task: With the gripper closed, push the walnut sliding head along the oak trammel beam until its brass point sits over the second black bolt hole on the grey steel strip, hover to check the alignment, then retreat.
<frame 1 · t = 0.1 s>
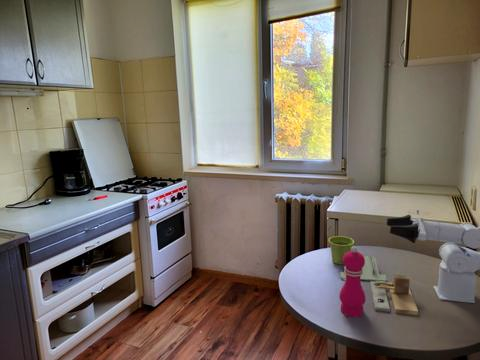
hand: (388, 225, 110), 22 cm above the table, tool horizontal, fingers open, 7 cm apart
metal bracket: (360, 273, 125), on the table, touching plant pot
pepper mill: (351, 311, 102), on the table
plant pot: (340, 262, 135), on the table, touching metal bracket
sliding head: (392, 283, 109), point 4 cm above the table, slide at 0.0 cm
bolt strip: (379, 296, 109), on the table
trammel beam: (401, 299, 107), on the table
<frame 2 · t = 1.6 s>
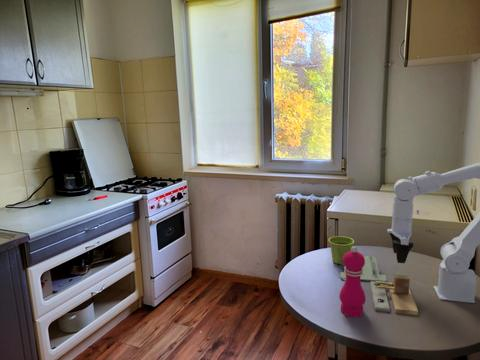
hand: (399, 257, 112), 10 cm above the table, tool pointing down, fingers open, 7 cm apart
nothing on the table moved.
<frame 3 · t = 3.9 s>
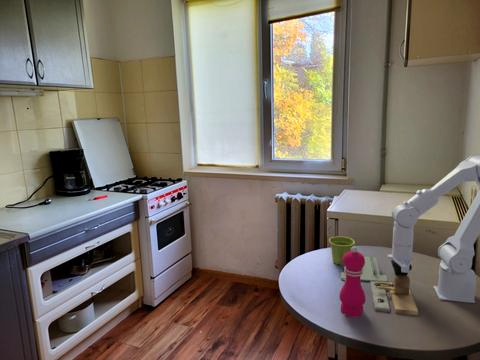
hand: (399, 283, 111), 3 cm above the table, tool pointing down, fingers closed
sliding head: (392, 283, 109), point 4 cm above the table, slide at 0.3 cm, touching gripper
everything else where it was.
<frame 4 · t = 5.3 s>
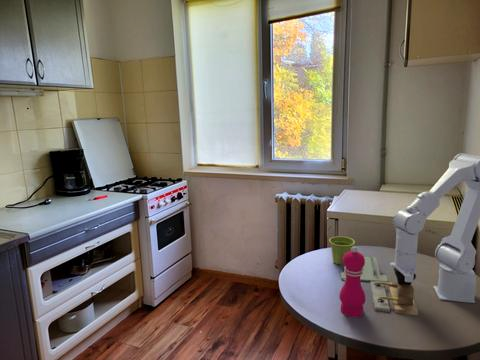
hand: (403, 293, 105), 3 cm above the table, tool pointing down, fingers closed
sliding head: (395, 293, 103), point 4 cm above the table, slide at 6.4 cm, touching gripper
everything else where it was.
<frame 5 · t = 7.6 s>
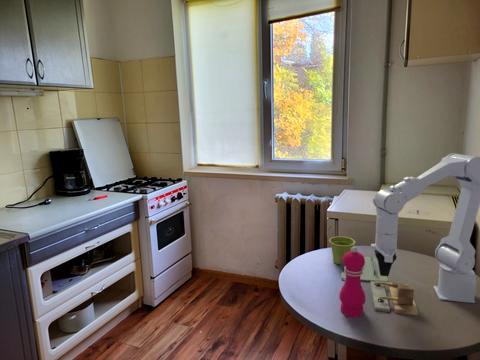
hand: (384, 275, 103), 9 cm above the table, tool pointing down, fingers closed
sliding head: (395, 293, 103), point 4 cm above the table, slide at 6.4 cm
everything else where it was.
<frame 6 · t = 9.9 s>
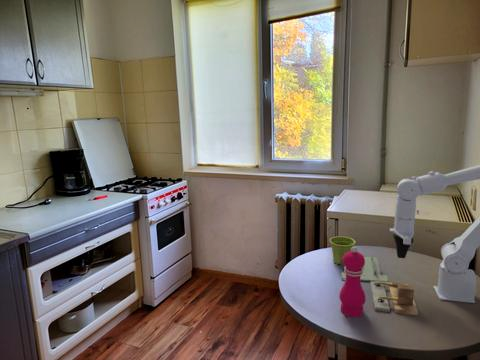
hand: (401, 257, 113), 10 cm above the table, tool pointing down, fingers closed
nothing on the table moved.
at the end: sliding head slide at 6.4 cm; sliding head touching nothing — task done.
